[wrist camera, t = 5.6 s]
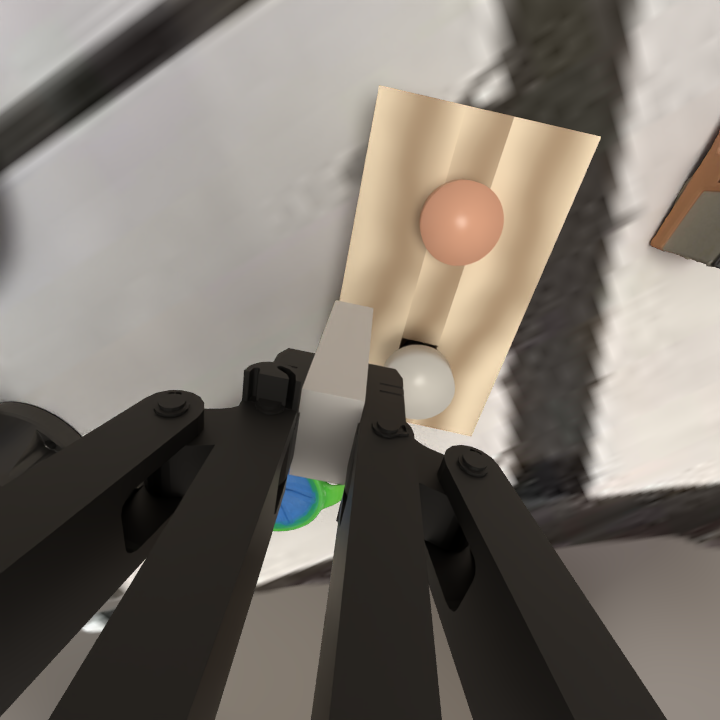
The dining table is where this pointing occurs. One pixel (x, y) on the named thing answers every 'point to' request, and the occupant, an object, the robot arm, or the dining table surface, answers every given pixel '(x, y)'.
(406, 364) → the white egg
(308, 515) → the snack cup
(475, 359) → the switch box
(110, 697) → the robot arm
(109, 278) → the dining table surface
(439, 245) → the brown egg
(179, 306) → the dining table surface
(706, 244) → the electronic device
